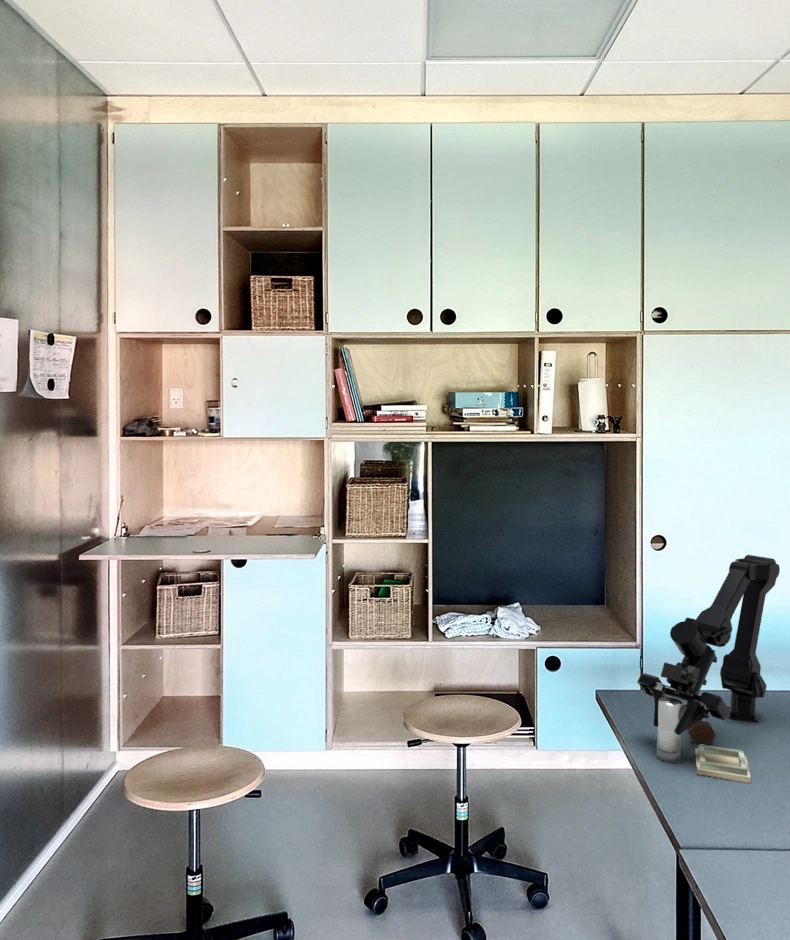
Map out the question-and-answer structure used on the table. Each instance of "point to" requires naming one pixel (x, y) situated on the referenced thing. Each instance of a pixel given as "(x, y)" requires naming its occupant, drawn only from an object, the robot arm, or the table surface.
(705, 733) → the bolt
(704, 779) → the table surface
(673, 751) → the grey cylindrical piece
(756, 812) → the table surface
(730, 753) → the tray
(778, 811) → the table surface
